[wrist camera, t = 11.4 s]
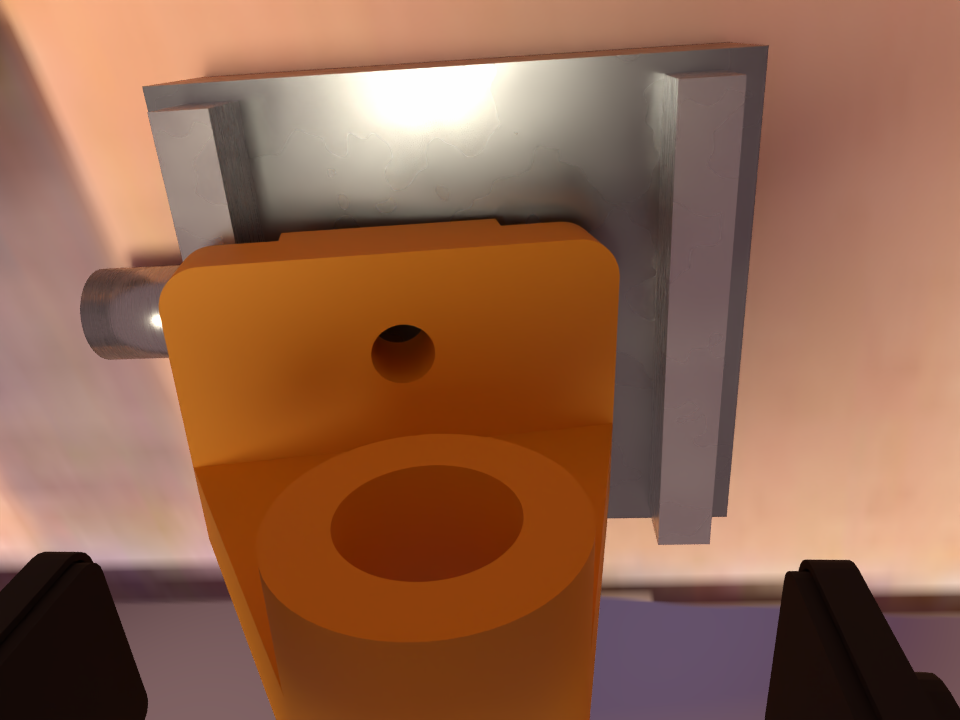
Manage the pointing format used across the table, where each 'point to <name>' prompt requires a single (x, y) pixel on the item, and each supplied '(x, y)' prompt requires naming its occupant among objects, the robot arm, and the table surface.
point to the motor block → (503, 212)
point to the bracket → (406, 461)
